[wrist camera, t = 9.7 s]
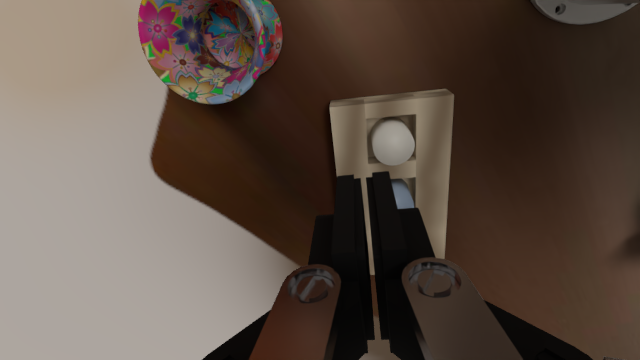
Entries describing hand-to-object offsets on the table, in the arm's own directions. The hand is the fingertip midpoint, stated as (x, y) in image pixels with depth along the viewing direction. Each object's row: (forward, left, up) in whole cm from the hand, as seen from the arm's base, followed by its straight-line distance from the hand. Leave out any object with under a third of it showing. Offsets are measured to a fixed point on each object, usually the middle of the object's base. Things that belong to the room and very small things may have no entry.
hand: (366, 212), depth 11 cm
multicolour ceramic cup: (+11, -7, -26) cm, 29 cm away
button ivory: (-3, +6, -25) cm, 26 cm away
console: (-3, +13, -26) cm, 29 cm away
